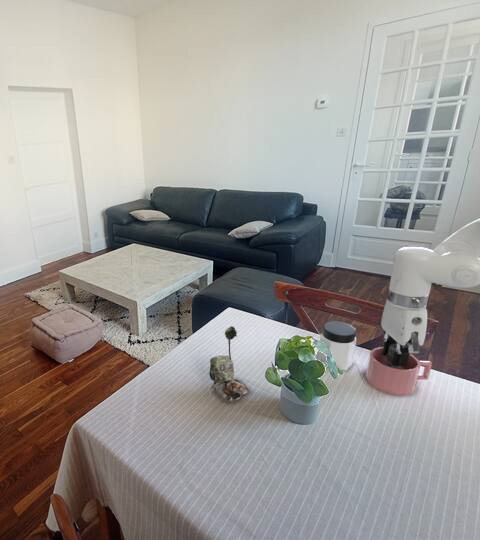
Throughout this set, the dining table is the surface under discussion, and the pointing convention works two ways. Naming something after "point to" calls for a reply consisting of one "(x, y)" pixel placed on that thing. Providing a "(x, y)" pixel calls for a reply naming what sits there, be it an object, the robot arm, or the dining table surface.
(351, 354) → the jar
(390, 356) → the grey stone figurine
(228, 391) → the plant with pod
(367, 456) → the dining table surface
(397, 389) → the pink coffee mug
